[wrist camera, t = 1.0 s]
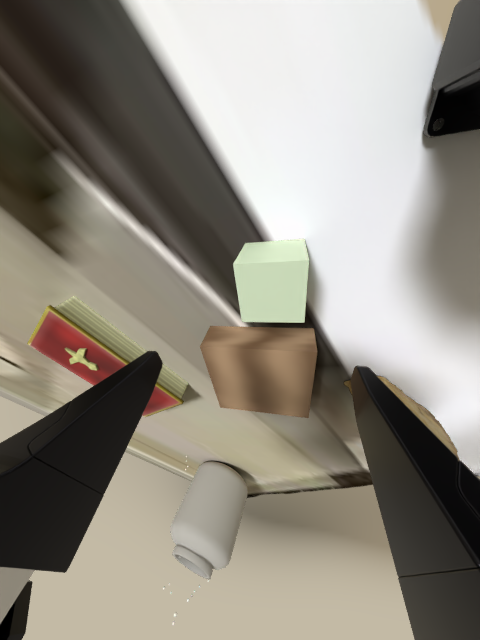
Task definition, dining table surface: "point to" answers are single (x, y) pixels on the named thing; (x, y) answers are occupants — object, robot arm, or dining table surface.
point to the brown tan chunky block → (418, 413)
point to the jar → (209, 519)
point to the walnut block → (262, 368)
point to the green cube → (272, 281)
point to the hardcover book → (98, 350)
